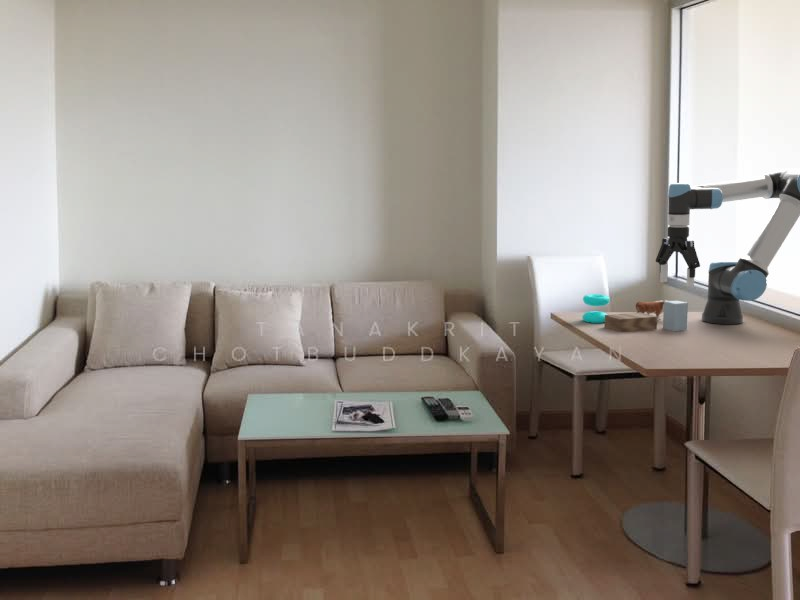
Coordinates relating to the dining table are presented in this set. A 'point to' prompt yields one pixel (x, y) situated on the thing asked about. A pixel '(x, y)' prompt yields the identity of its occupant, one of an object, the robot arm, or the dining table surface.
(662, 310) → the bull figurine
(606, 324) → the plinth
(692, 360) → the dining table surface
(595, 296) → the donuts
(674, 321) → the column
